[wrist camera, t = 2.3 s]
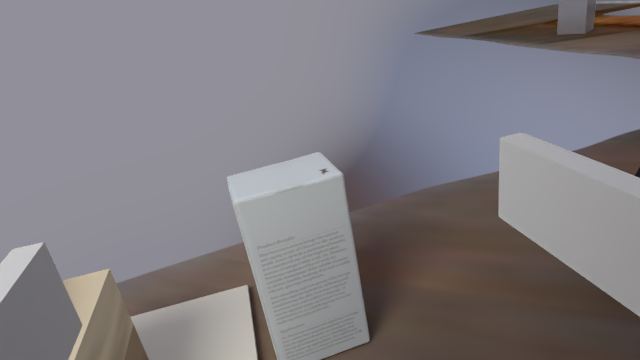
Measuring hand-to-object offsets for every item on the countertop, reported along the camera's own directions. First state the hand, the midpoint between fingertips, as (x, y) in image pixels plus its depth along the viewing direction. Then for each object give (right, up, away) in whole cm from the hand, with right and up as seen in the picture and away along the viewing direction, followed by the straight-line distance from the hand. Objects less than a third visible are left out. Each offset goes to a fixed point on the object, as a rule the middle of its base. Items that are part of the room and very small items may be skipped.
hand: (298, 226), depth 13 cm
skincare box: (0, -9, +16) cm, 19 cm away
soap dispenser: (+68, +40, +101) cm, 128 cm away
